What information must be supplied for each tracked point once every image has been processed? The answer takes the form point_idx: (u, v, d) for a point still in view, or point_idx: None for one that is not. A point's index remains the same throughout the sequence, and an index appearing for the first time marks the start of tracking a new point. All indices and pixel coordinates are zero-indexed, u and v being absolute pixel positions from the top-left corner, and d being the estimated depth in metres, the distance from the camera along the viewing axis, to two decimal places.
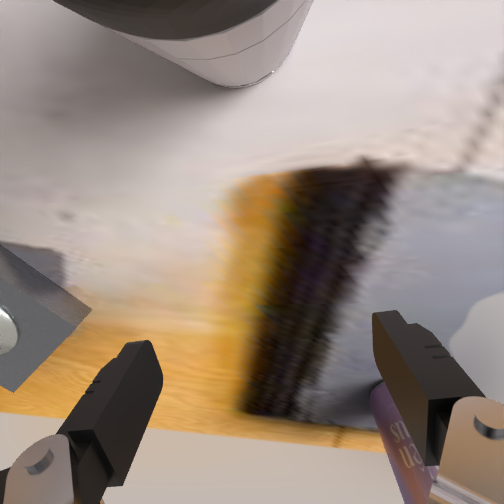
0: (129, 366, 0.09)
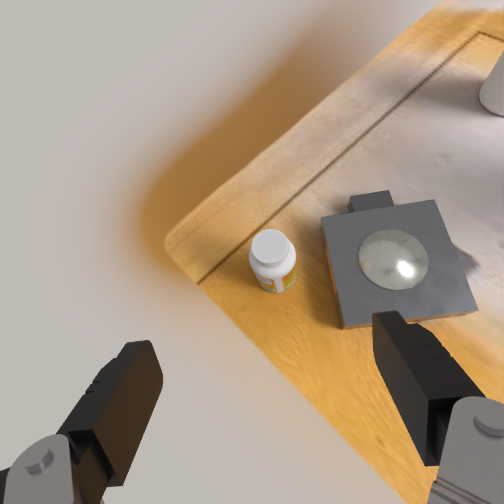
0: (129, 366, 0.09)
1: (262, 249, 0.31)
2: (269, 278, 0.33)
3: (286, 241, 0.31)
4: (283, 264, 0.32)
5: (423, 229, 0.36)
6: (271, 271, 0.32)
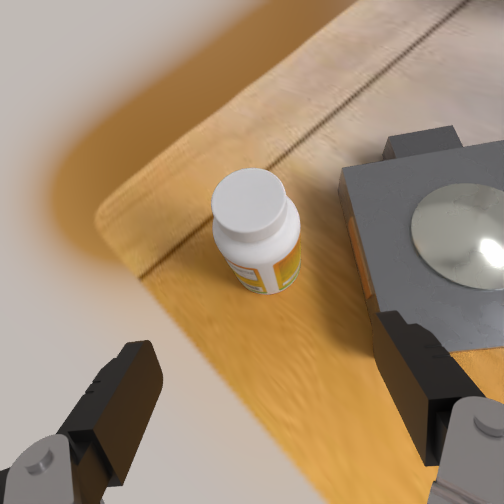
0: (129, 366, 0.09)
1: (233, 206, 0.15)
2: (249, 265, 0.17)
3: (281, 189, 0.15)
4: (276, 238, 0.16)
5: None
6: (252, 252, 0.16)
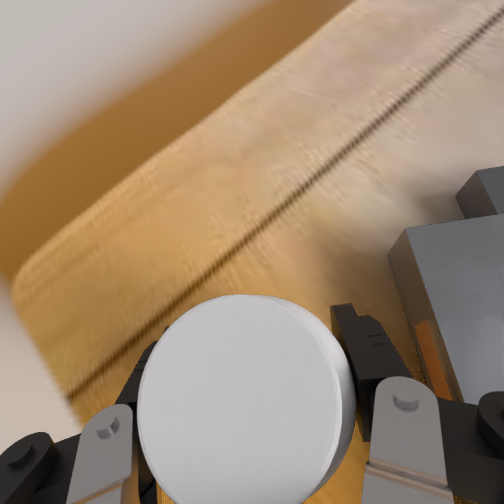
0: None
1: (193, 420, 0.06)
2: None
3: (329, 377, 0.05)
4: None
5: None
6: None
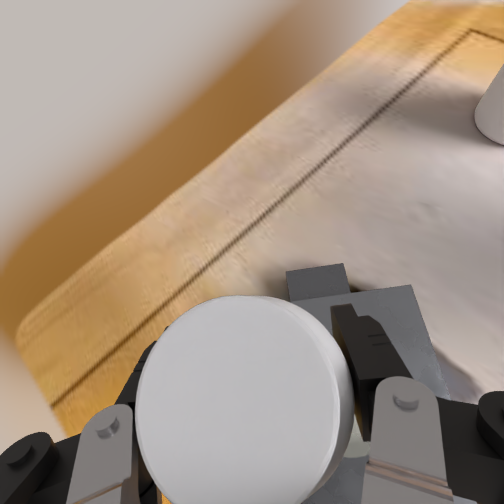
0: None
1: (191, 421, 0.06)
2: None
3: (327, 378, 0.05)
4: None
5: (394, 339, 0.22)
6: None
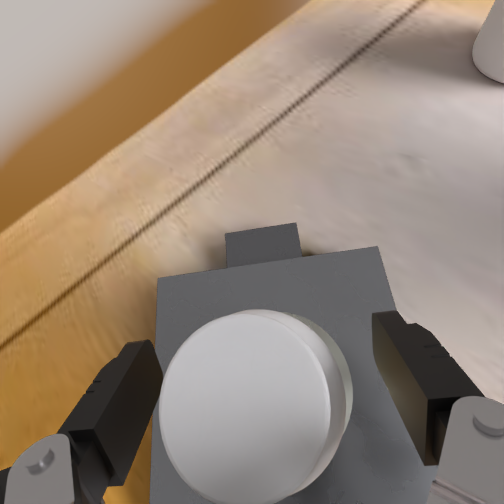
0: (129, 366, 0.09)
1: (206, 421, 0.07)
2: None
3: (320, 384, 0.07)
4: None
5: (350, 315, 0.17)
6: None
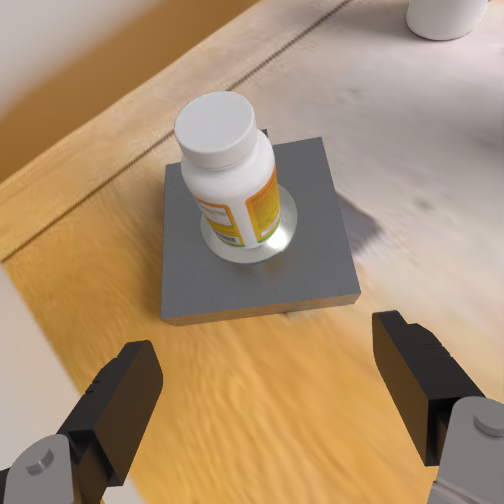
0: (129, 366, 0.09)
1: (197, 128, 0.14)
2: (219, 200, 0.16)
3: (249, 109, 0.14)
4: (246, 168, 0.15)
5: (299, 177, 0.24)
6: (221, 183, 0.15)
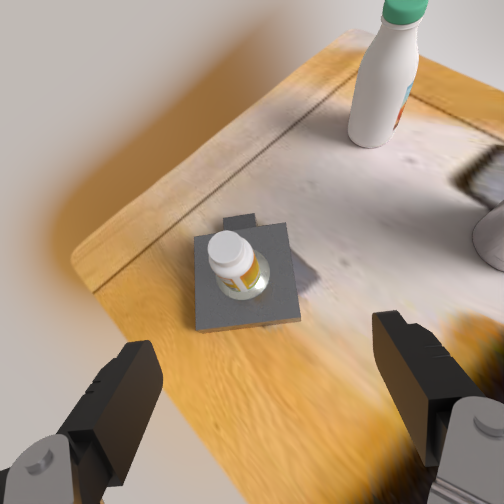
0: (129, 366, 0.09)
1: (217, 250, 0.32)
2: (227, 277, 0.34)
3: (240, 242, 0.32)
4: (240, 264, 0.33)
5: (272, 248, 0.42)
6: (228, 271, 0.33)
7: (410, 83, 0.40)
